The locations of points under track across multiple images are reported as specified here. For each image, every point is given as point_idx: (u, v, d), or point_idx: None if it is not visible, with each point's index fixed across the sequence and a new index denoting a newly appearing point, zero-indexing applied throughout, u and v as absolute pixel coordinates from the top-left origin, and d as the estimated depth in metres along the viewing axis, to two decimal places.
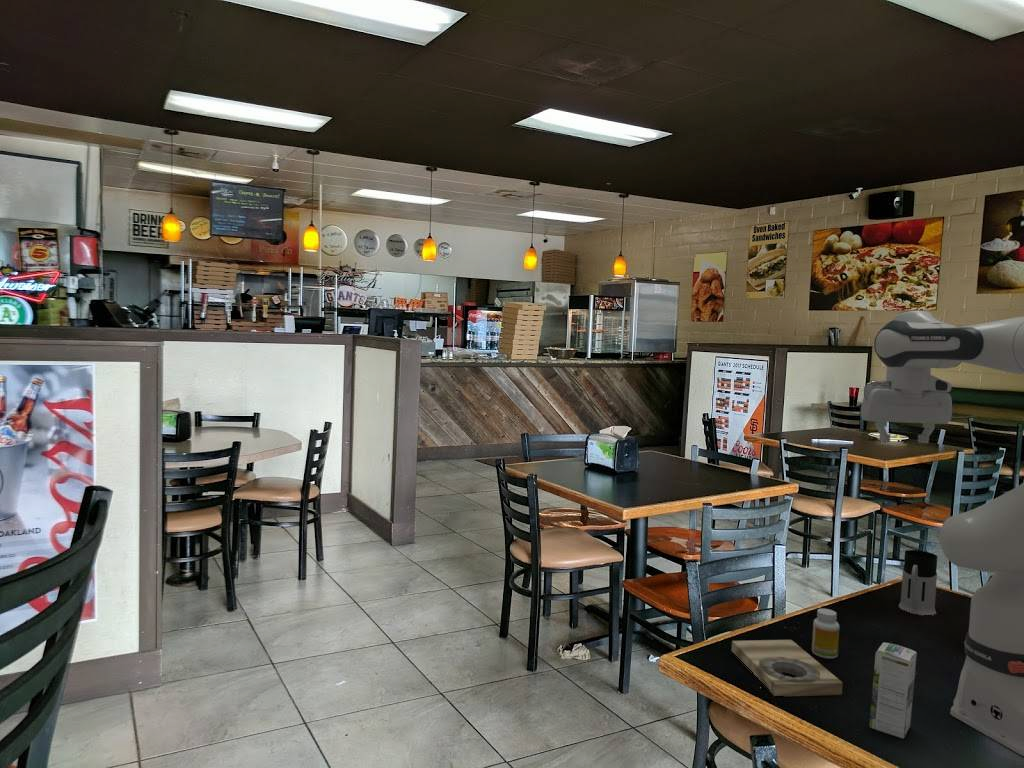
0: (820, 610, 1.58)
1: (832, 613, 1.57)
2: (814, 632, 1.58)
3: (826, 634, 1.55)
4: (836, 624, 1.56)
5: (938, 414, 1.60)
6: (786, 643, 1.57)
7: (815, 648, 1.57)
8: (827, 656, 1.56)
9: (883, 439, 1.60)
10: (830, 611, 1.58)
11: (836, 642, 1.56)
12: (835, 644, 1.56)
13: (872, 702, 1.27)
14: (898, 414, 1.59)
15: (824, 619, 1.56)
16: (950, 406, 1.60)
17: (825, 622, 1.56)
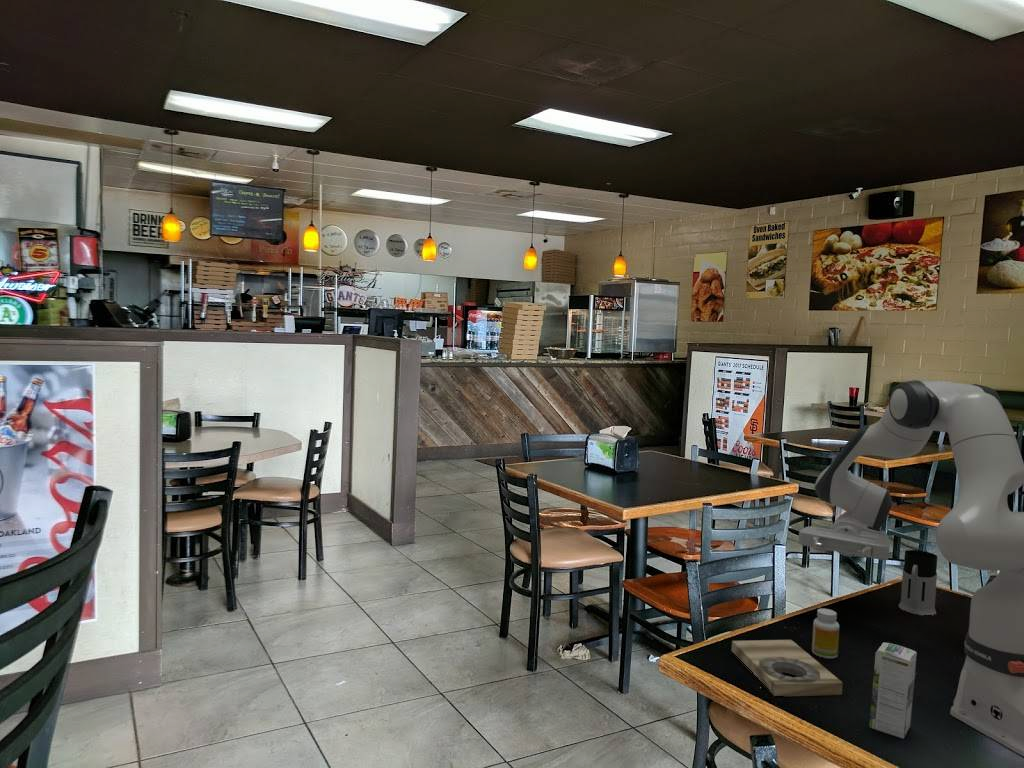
0: (820, 610, 1.58)
1: (832, 613, 1.57)
2: (814, 632, 1.58)
3: (826, 634, 1.55)
4: (836, 624, 1.56)
5: (874, 541, 1.69)
6: (786, 643, 1.57)
7: (815, 647, 1.57)
8: (827, 656, 1.56)
9: (814, 543, 1.71)
10: (830, 611, 1.58)
11: (836, 642, 1.56)
12: (835, 644, 1.56)
13: (872, 702, 1.27)
14: (830, 534, 1.74)
15: (824, 619, 1.56)
16: (886, 539, 1.69)
17: (825, 622, 1.56)
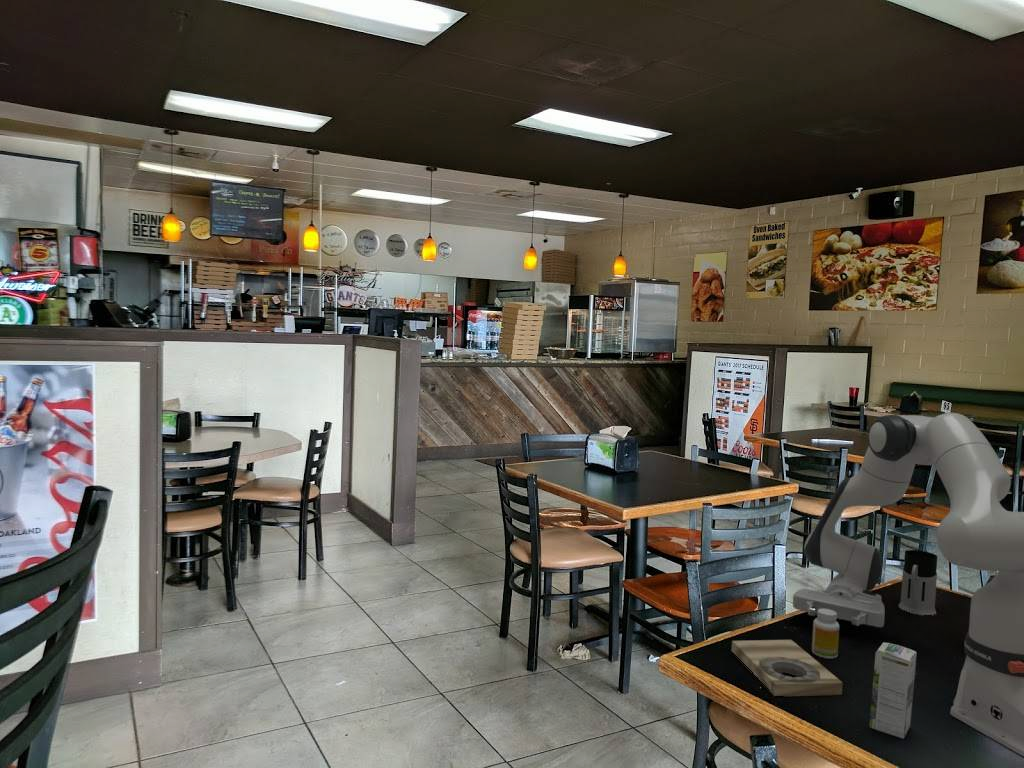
0: (820, 610, 1.58)
1: (832, 613, 1.57)
2: (814, 632, 1.58)
3: (826, 634, 1.55)
4: (836, 624, 1.56)
5: (869, 607, 1.67)
6: (786, 643, 1.57)
7: (815, 647, 1.57)
8: (827, 656, 1.56)
9: (808, 608, 1.68)
10: (830, 611, 1.58)
11: (836, 642, 1.56)
12: (835, 644, 1.56)
13: (872, 702, 1.27)
14: (824, 598, 1.72)
15: (824, 619, 1.56)
16: (881, 605, 1.67)
17: (825, 622, 1.56)
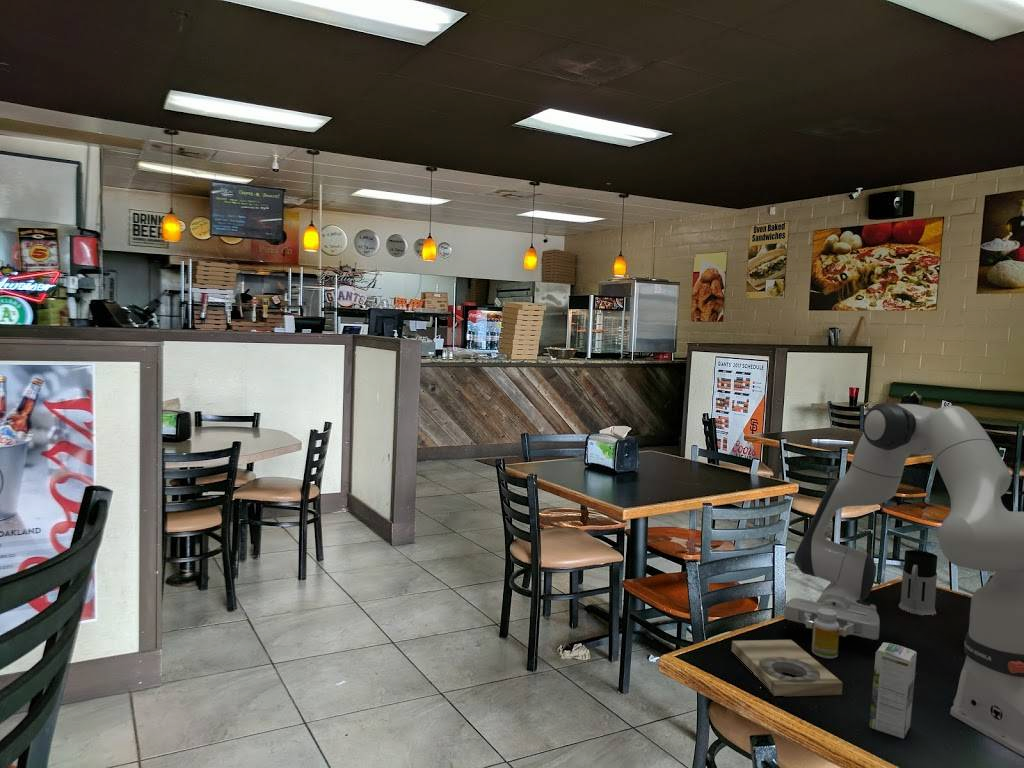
0: (820, 610, 1.58)
1: (832, 613, 1.57)
2: (814, 632, 1.58)
3: (826, 634, 1.55)
4: (836, 624, 1.56)
5: (863, 618, 1.59)
6: (786, 643, 1.57)
7: (815, 647, 1.57)
8: (827, 656, 1.56)
9: None
10: (830, 611, 1.58)
11: (836, 642, 1.56)
12: (835, 644, 1.56)
13: (872, 702, 1.27)
14: (816, 609, 1.64)
15: (824, 619, 1.56)
16: (876, 616, 1.59)
17: (825, 622, 1.56)
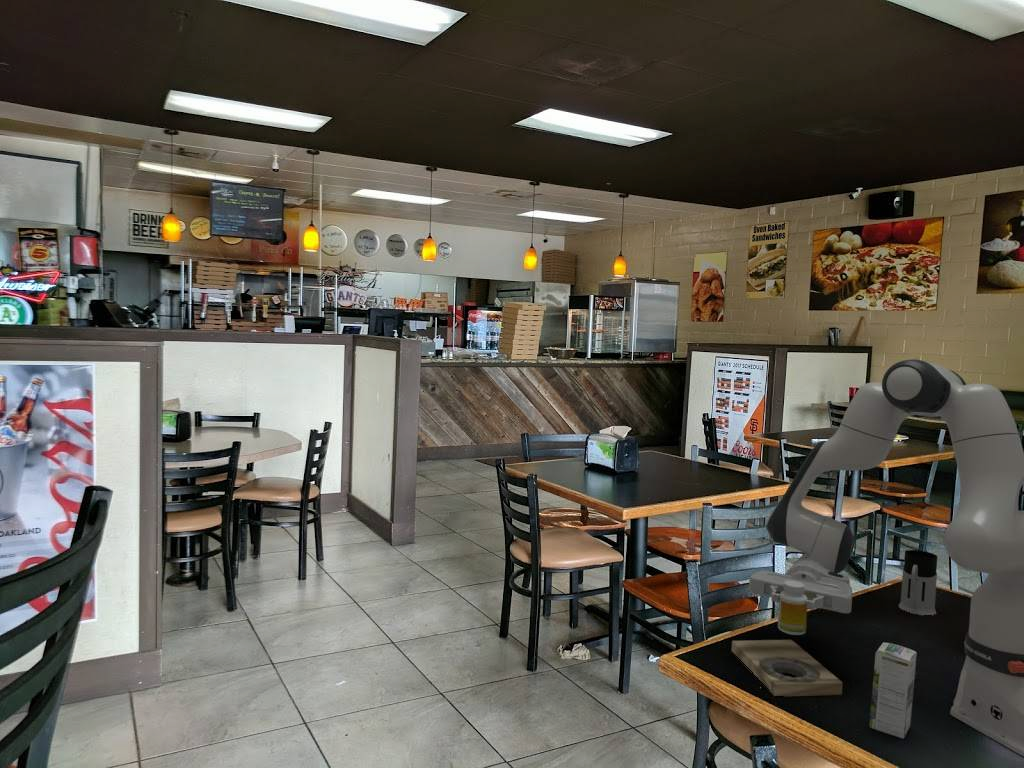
0: (787, 582, 1.44)
1: (799, 585, 1.43)
2: (780, 606, 1.44)
3: (793, 608, 1.41)
4: (804, 597, 1.42)
5: (834, 591, 1.45)
6: (786, 643, 1.57)
7: (781, 623, 1.43)
8: (794, 632, 1.41)
9: None
10: (798, 583, 1.44)
11: (804, 617, 1.42)
12: (802, 619, 1.41)
13: (872, 702, 1.27)
14: (784, 581, 1.50)
15: (790, 591, 1.42)
16: (849, 588, 1.45)
17: (792, 595, 1.42)
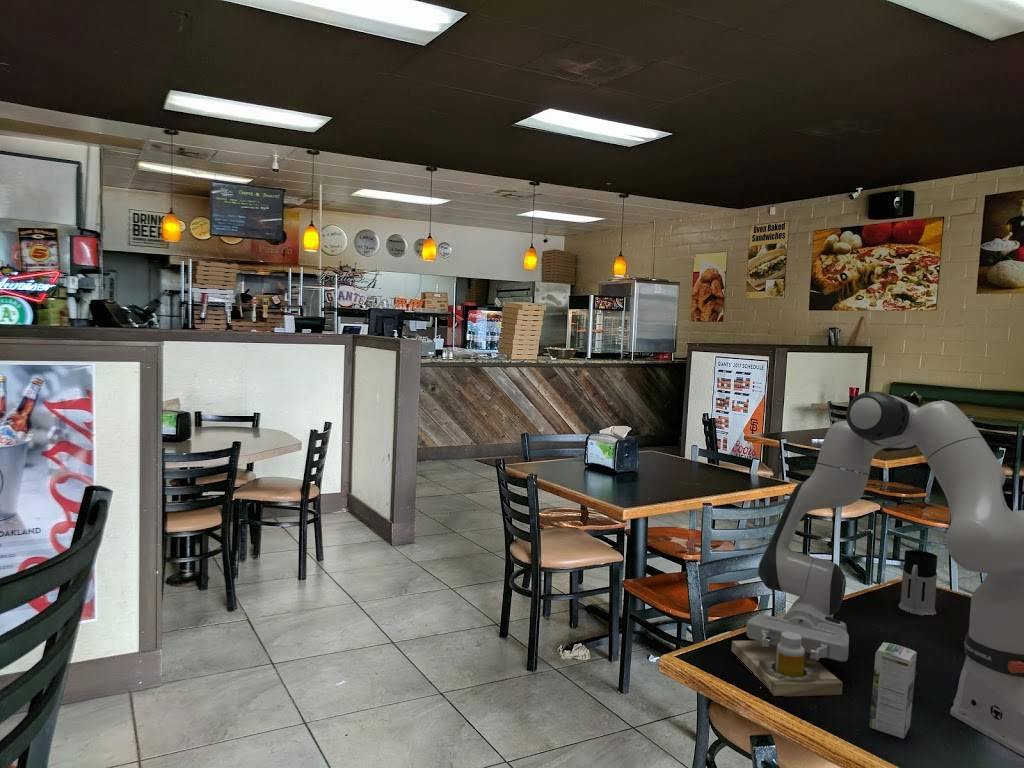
0: (784, 633, 1.45)
1: (797, 637, 1.43)
2: (777, 657, 1.44)
3: (790, 660, 1.42)
4: (801, 649, 1.43)
5: (831, 638, 1.45)
6: None
7: None
8: None
9: None
10: (795, 634, 1.44)
11: (801, 669, 1.42)
12: (799, 671, 1.42)
13: (872, 702, 1.27)
14: (781, 626, 1.50)
15: (788, 643, 1.43)
16: (845, 636, 1.46)
17: (789, 647, 1.43)
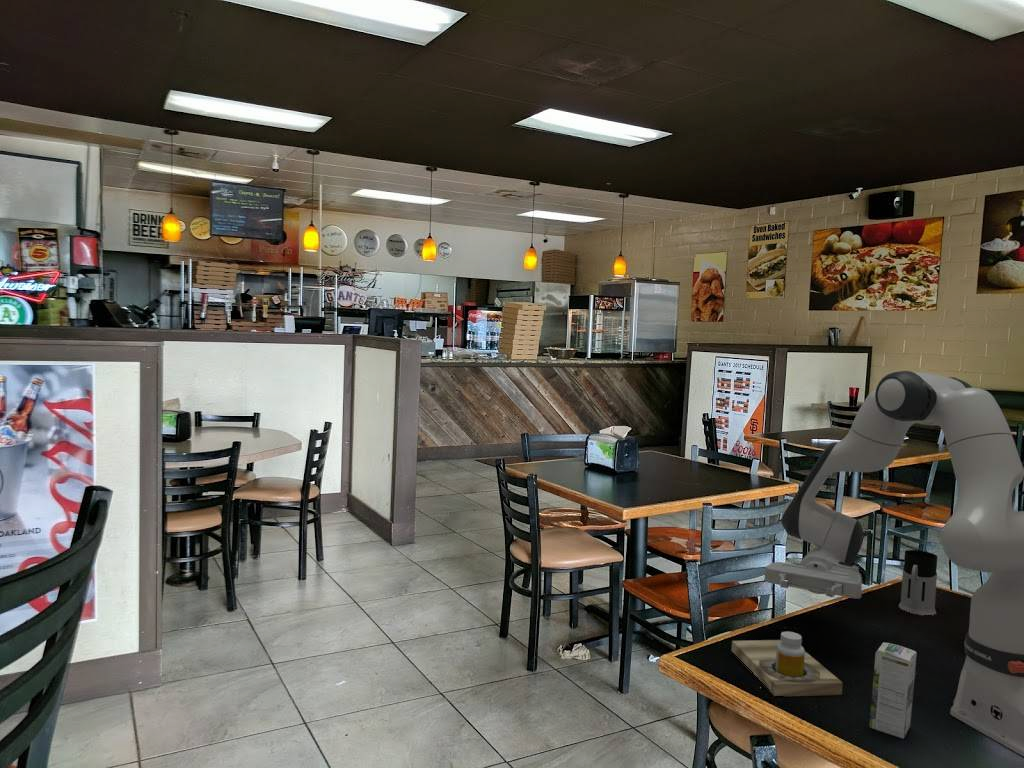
0: (784, 633, 1.45)
1: (797, 637, 1.43)
2: (777, 658, 1.44)
3: (790, 660, 1.42)
4: (801, 649, 1.43)
5: (845, 578, 1.55)
6: None
7: None
8: None
9: None
10: (795, 635, 1.44)
11: (801, 669, 1.42)
12: (799, 671, 1.42)
13: (872, 702, 1.27)
14: (798, 570, 1.60)
15: (787, 643, 1.43)
16: (858, 576, 1.55)
17: (789, 647, 1.43)
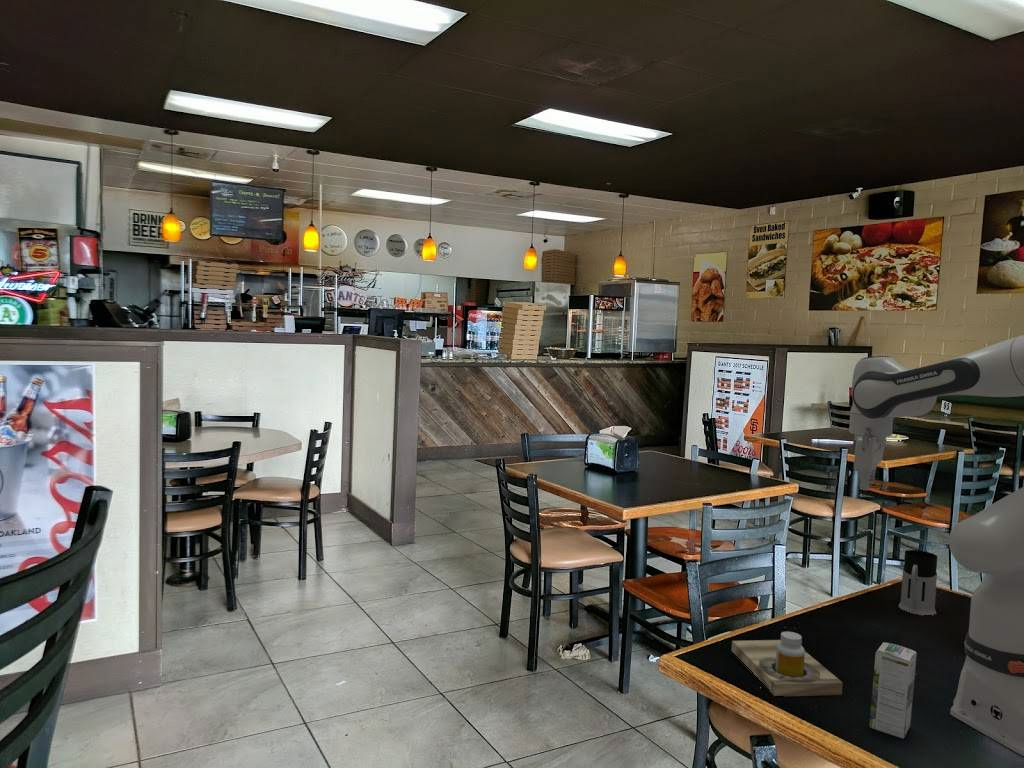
0: (784, 633, 1.45)
1: (797, 637, 1.43)
2: (777, 658, 1.44)
3: (790, 660, 1.42)
4: (801, 649, 1.43)
5: (880, 454, 1.66)
6: None
7: None
8: None
9: (866, 488, 1.57)
10: (795, 635, 1.44)
11: (801, 669, 1.42)
12: (799, 671, 1.42)
13: (872, 702, 1.27)
14: (875, 460, 1.58)
15: (787, 643, 1.43)
16: (884, 445, 1.68)
17: (789, 647, 1.43)
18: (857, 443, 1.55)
